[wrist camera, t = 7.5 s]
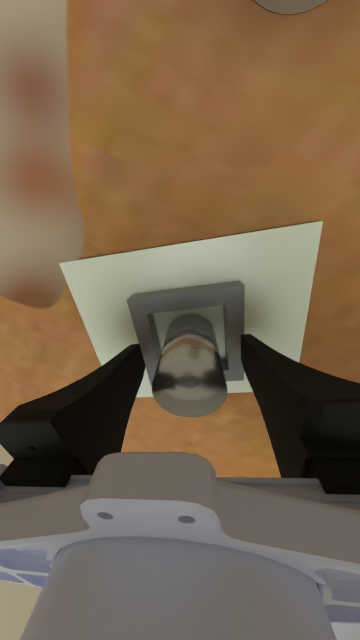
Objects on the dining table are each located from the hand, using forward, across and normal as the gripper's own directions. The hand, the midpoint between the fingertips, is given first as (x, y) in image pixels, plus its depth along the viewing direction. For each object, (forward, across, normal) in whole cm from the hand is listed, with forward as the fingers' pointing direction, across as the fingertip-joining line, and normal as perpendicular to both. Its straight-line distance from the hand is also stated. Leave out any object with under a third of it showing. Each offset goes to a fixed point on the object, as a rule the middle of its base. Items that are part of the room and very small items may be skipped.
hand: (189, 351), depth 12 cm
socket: (+3, 0, 0) cm, 3 cm away
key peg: (+2, 0, 0) cm, 3 cm away
